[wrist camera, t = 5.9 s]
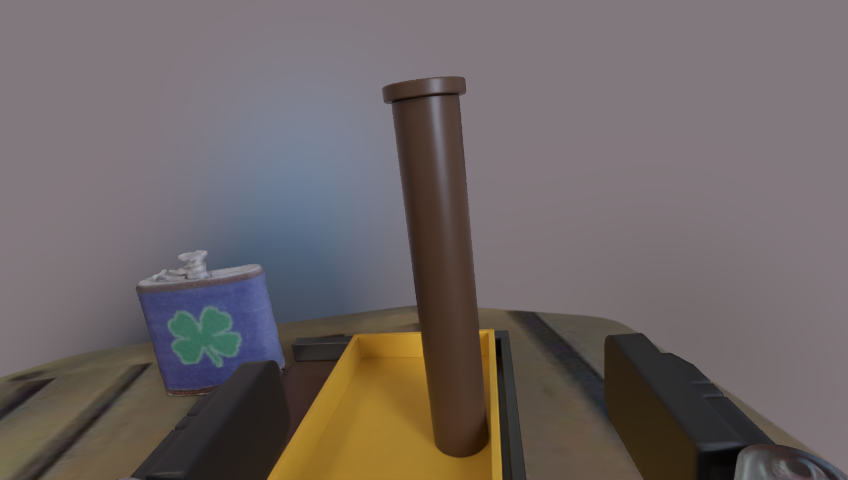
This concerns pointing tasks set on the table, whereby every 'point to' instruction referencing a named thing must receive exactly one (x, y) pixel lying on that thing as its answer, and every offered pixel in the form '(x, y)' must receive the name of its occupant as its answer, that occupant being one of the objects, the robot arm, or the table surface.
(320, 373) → the track
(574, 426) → the table surface
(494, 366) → the tray
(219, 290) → the flask
